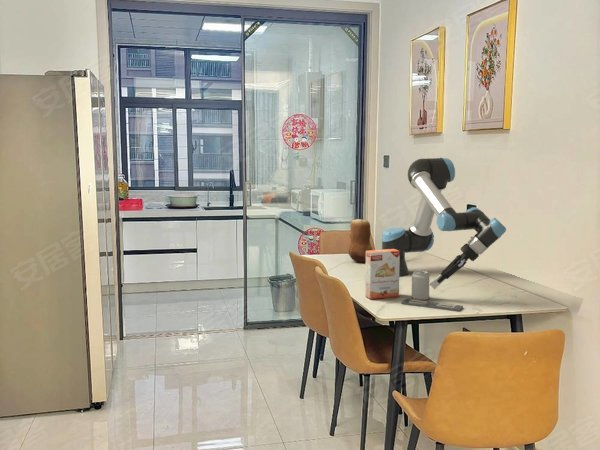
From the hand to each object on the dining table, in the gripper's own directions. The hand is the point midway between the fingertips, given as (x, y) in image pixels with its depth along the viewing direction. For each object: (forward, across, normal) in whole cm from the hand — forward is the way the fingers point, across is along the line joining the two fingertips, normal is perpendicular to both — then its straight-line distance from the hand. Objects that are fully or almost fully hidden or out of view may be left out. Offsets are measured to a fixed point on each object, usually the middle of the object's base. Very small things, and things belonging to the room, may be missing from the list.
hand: (432, 286), depth 239 cm
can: (+8, 0, +1) cm, 8 cm away
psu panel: (+4, +10, +4) cm, 12 cm away
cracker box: (+19, -2, -11) cm, 22 cm away
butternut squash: (+31, -76, -23) cm, 85 cm away
